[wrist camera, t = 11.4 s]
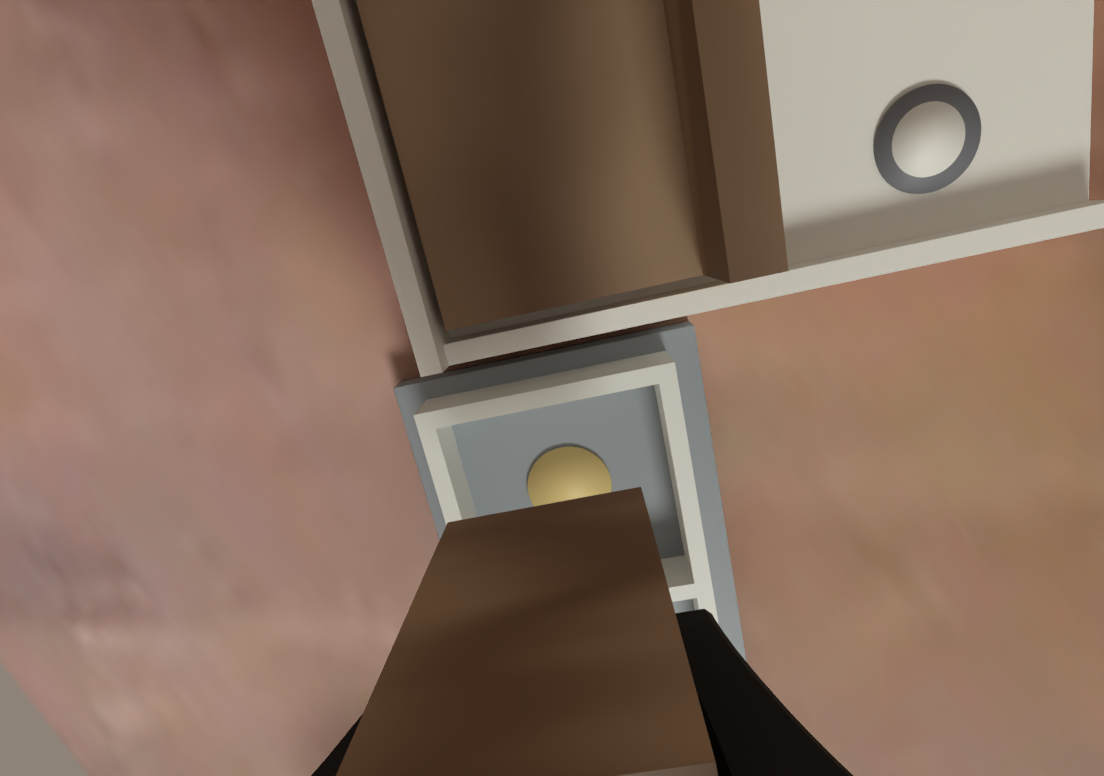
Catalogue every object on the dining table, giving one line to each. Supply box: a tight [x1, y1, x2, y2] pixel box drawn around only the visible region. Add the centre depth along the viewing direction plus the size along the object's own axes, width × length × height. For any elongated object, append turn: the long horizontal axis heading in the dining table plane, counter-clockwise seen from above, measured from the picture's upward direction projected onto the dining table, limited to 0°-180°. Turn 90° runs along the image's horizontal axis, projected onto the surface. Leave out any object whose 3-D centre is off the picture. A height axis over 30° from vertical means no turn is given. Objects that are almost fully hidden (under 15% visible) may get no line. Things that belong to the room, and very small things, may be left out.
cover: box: [356, 0, 788, 331], centre depth 13 cm, size 8×9×4 cm
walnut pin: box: [336, 487, 718, 776], centre depth 9 cm, size 4×4×6 cm
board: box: [311, 0, 1104, 377], centre depth 14 cm, size 18×11×3 cm, turn 103°
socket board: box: [394, 321, 746, 661], centre depth 18 cm, size 9×15×2 cm, turn 13°
